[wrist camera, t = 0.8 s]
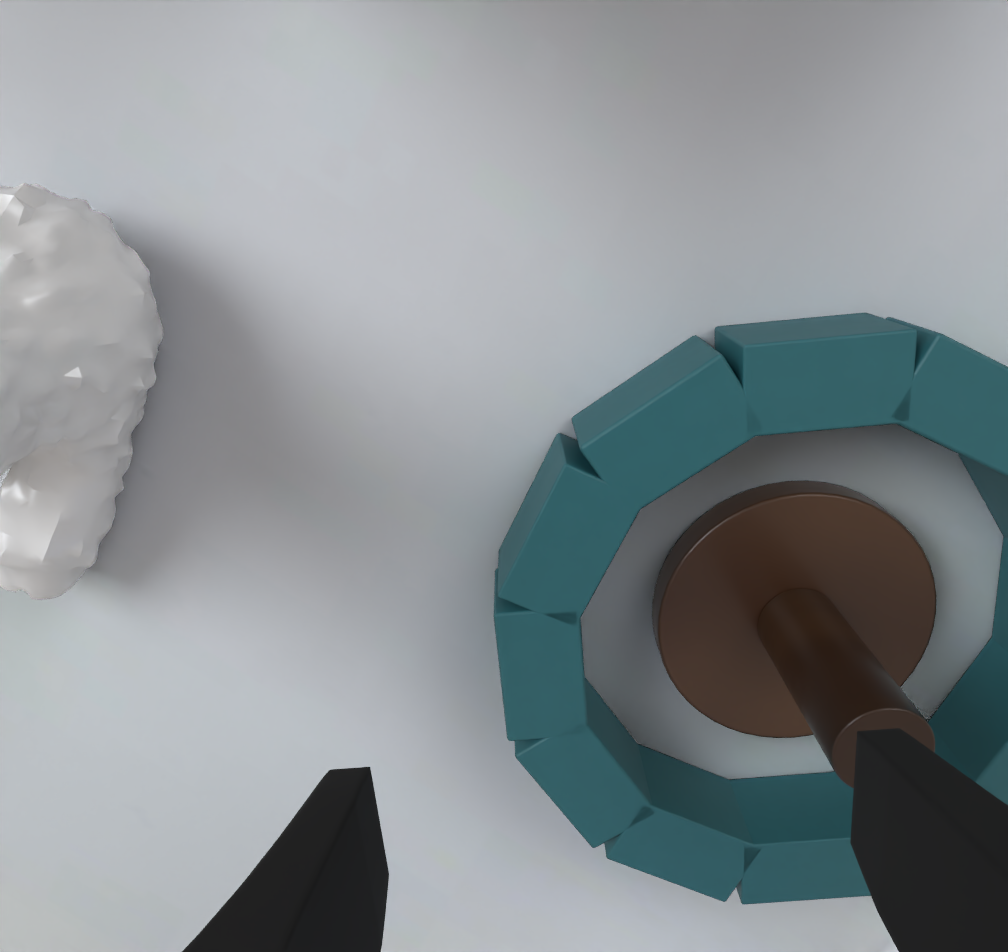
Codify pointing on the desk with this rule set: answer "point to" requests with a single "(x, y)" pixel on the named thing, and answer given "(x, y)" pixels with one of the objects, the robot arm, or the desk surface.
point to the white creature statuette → (66, 382)
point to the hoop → (650, 474)
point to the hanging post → (798, 617)
